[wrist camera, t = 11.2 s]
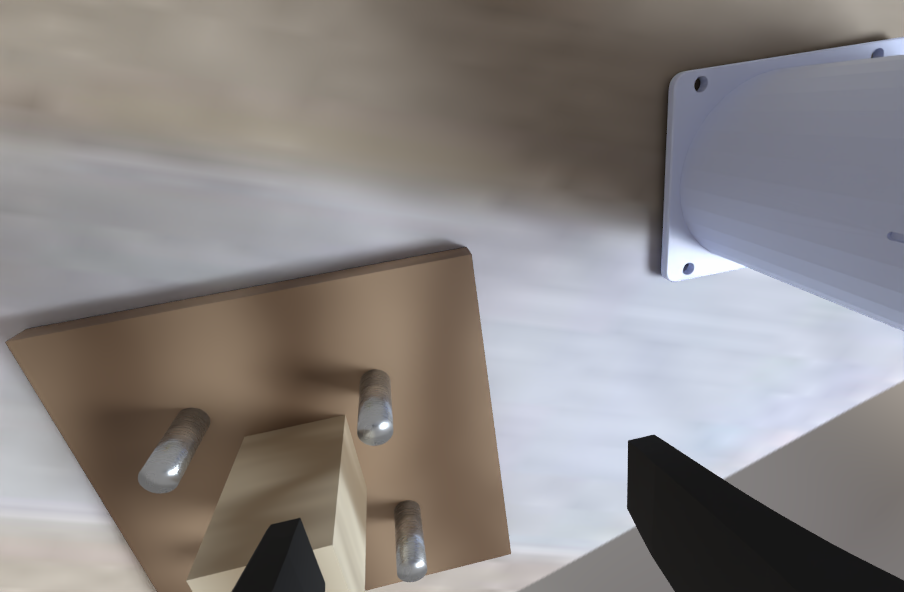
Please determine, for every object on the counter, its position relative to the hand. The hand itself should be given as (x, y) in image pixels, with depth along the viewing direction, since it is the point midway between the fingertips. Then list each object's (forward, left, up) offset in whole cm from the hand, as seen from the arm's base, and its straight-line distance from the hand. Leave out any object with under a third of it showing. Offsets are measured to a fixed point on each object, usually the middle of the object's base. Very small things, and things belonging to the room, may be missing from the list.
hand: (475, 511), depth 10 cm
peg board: (+6, +5, -9) cm, 12 cm away
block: (+6, +5, -8) cm, 11 cm away
